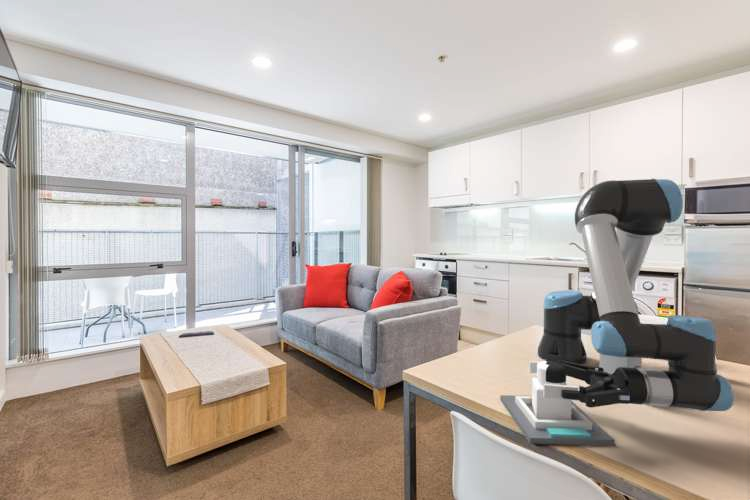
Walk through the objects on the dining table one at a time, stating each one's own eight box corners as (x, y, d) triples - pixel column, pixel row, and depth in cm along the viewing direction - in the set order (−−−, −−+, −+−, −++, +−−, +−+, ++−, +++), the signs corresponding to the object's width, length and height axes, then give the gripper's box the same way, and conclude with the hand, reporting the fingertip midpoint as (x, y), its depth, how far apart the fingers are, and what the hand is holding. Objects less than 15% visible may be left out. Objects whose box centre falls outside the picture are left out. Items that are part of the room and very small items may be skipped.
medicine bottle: (564, 409, 82) (565, 360, 82) (571, 425, 76) (572, 371, 75) (531, 405, 84) (532, 357, 84) (536, 420, 78) (537, 367, 77)
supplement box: (627, 399, 90) (628, 352, 89) (597, 388, 96) (598, 344, 96) (641, 393, 93) (643, 347, 93) (612, 383, 100) (613, 340, 99)
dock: (500, 399, 90) (500, 389, 90) (566, 401, 89) (567, 390, 89) (529, 443, 71) (530, 430, 71) (614, 445, 70) (614, 432, 70)
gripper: (675, 434, 64) (551, 421, 68) (613, 379, 88) (524, 372, 93) (676, 395, 63) (551, 384, 68) (614, 350, 88) (525, 345, 92)
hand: (536, 377), depth 80 cm, fingers open, 13 cm apart
